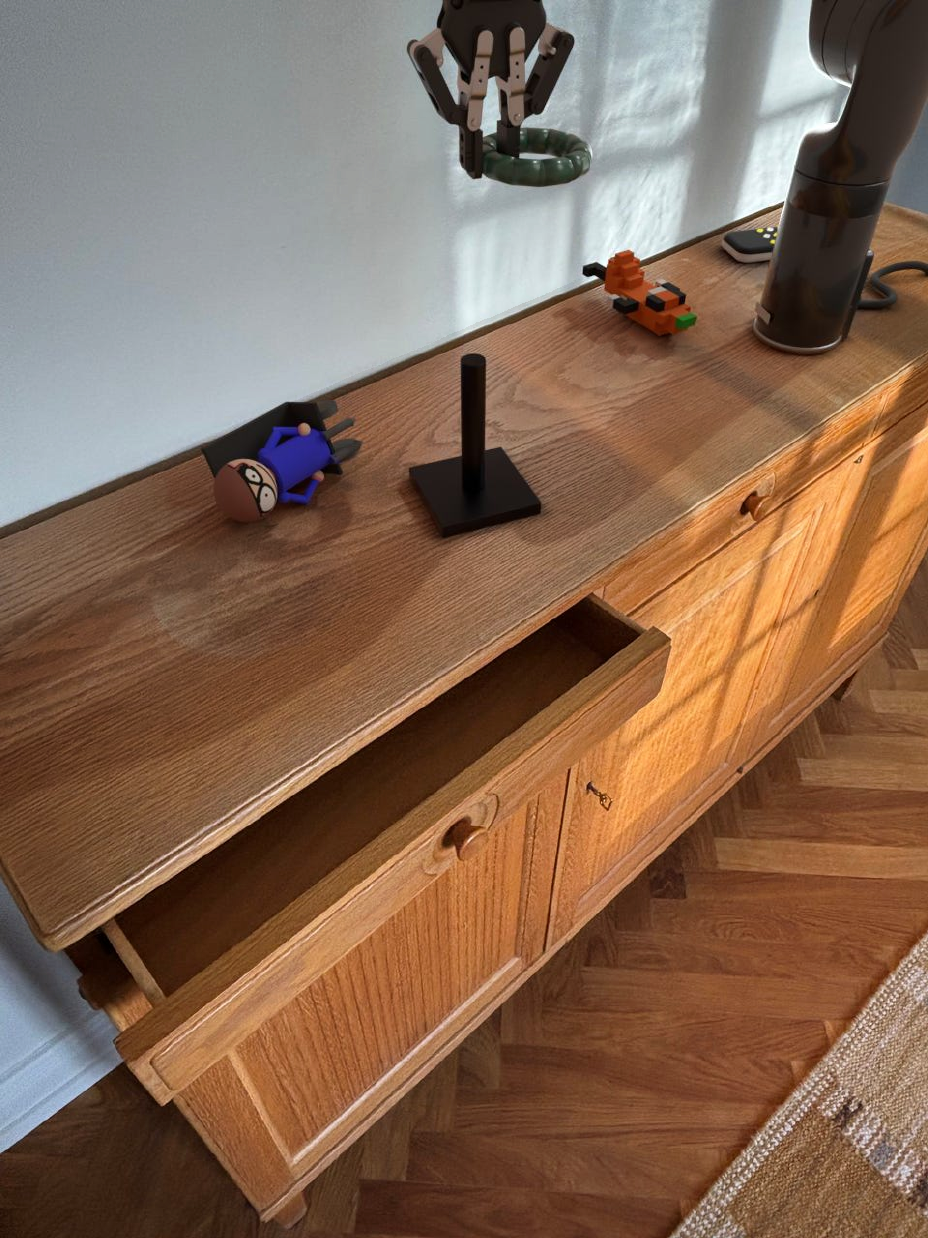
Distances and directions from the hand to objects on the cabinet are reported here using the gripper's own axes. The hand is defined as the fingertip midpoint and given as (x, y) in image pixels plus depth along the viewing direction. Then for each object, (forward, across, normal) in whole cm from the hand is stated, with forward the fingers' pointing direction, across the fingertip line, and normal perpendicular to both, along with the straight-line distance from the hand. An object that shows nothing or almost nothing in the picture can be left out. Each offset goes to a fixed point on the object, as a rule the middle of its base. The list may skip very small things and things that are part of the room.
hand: (489, 172), depth 73 cm
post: (+21, -7, -15) cm, 27 cm away
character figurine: (+22, -22, -9) cm, 32 cm away
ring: (-1, +4, 0) cm, 4 cm away
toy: (+21, +23, +9) cm, 33 cm away
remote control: (+21, +48, +20) cm, 56 cm away
